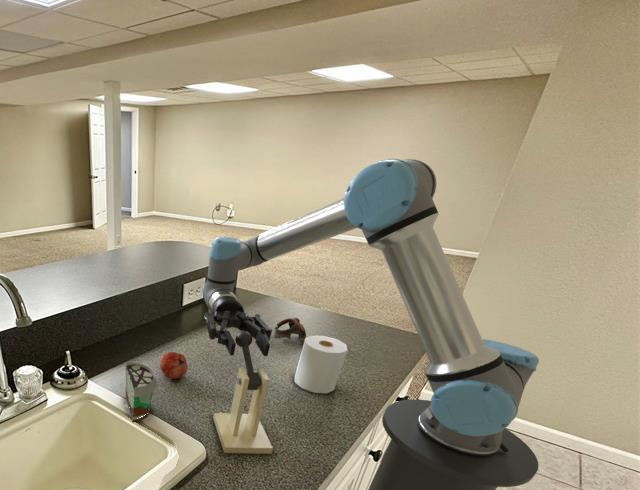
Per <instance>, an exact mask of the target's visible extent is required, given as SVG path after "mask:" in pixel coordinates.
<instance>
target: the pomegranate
mask: <svg viewBox="0 0 640 490" xmlns="http://www.w3.org/2000/svg"><path fill="white" fill-rule="evenodd" d="M159 367H160V370H161V372H162V373H163V376H164V377H166V378H167V379H171V380H175V379H178V378H183V377H184V376H185V375H186V374H187V373H188V368H189V366H188V363H187V358H186V357H185V355H184V354H183V353H178V352H176V351H169V352H166V353H164V355H162V357H161V359H160V364H159Z"/></svg>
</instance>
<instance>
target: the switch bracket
mask: <svg viewBox="0 0 640 490" xmlns="http://www.w3.org/2000/svg"><path fill="white" fill-rule="evenodd" d="M257 373H258V374H259V379H260V383H261V384H260V386H259V388H258V389H257V390H252V396H251V400H250V403H249V404H250V405H249V409H248V412H247V413H243V411H244V407H245V402H246V397H247V392H248V390H247V388H248V384H249V377H248V375H247V371H246V370H245V368H244V367H239V368H238V372H237V377H236V382H235V387H234V393H233V397H232V403H231V408H230V413H229V412H228V413H227V412H213V416H212V419H213V422H214V426H215V428H216V431H217V435H218V438H219V441H220V444H221V448H222V451H223V454H258V455H259V454H260V455H262V454H265V455H267V454H268V455H272V454H273V450H274V447H273V445H272V443H271V441H270V439H269V437H268V435H267V432H266V430H265V428H264V426H263V424H262V421H261V418H262V413H263V408H264V404H265V400H266V397H267V393H268V388H269V384H270V378H269V376H268V374H267V373H266V371H265V370H264V368H258V369H257Z"/></svg>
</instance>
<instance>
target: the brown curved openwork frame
mask: <svg viewBox="0 0 640 490" xmlns="http://www.w3.org/2000/svg"><path fill="white" fill-rule="evenodd" d="M287 324H288V327H289V328H286V329H279V328H281V327H282V326H284V325H287ZM274 330H275V331H274V335H273V336H274V337H275V338H278V339H285V338H287V339H289V340H291V338H292V337H291V336H292V334H293V335H297V336H298V339H301V340H302V346H303V345H304V341H305V338H307V331H306V329H305V326H304V325H303V324H302V323H301V321H300V319H299V318H298V317H294V318H293V317H292V318H290V317H289V318H285V319H283V320H280V321H279V322H278V323H277V324H276V326H275V327H274Z"/></svg>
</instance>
